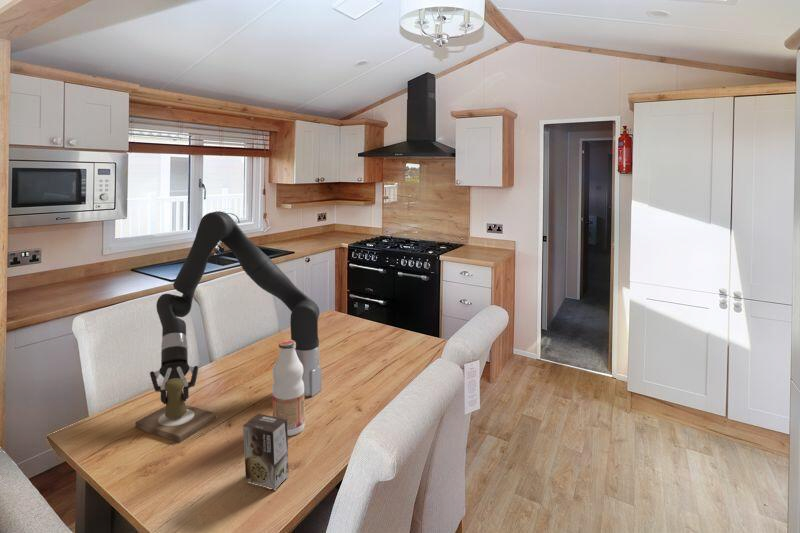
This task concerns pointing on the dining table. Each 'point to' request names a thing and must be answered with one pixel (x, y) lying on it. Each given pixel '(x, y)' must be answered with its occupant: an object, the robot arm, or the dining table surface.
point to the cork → (174, 398)
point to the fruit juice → (289, 388)
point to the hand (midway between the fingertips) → (175, 401)
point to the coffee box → (266, 450)
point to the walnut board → (176, 423)
